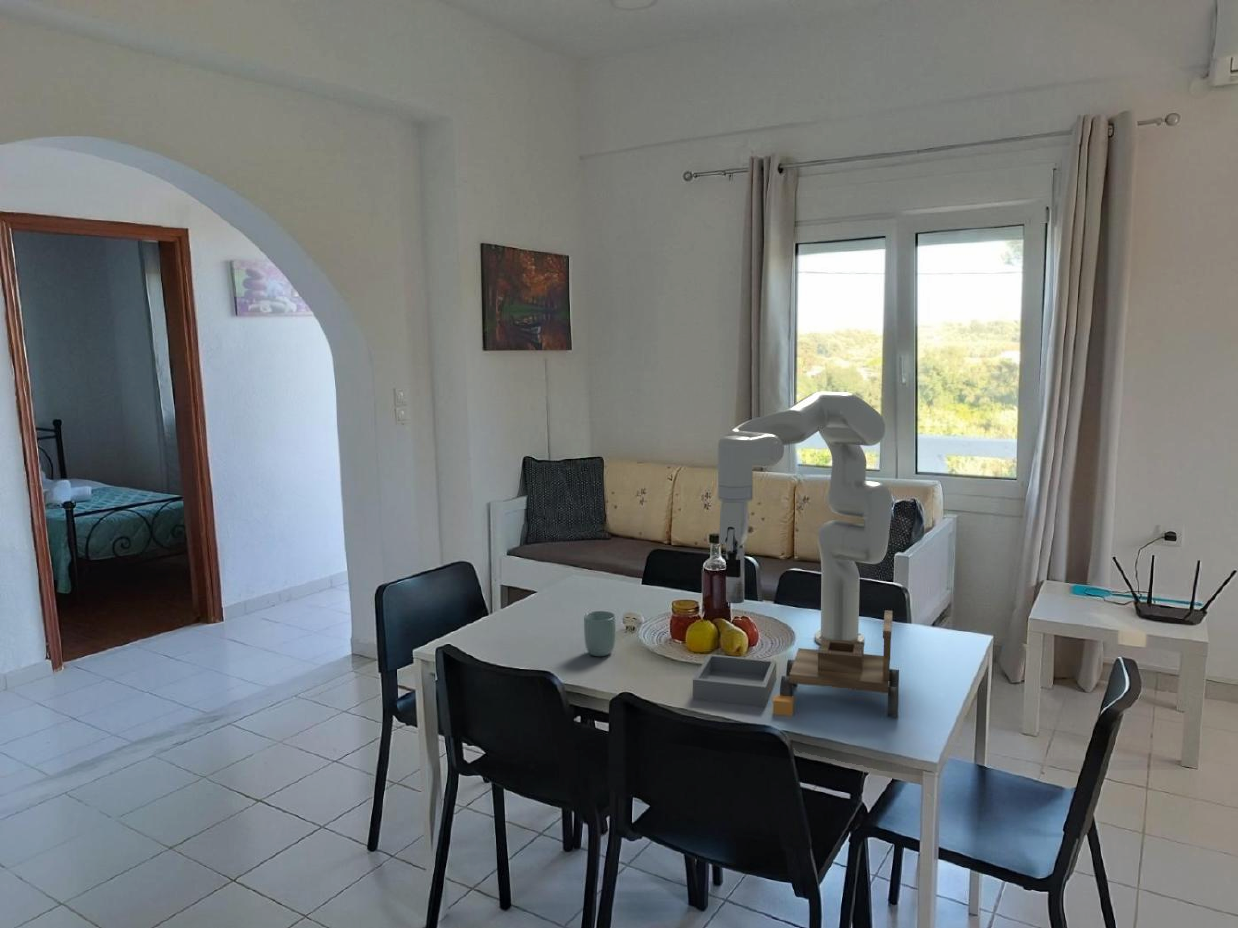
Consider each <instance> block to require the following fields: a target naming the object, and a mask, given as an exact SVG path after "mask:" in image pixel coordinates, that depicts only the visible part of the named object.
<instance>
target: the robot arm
mask: <svg viewBox="0 0 1238 928" xmlns="http://www.w3.org/2000/svg"><path fill="white" fill-rule="evenodd" d="M817 433H819V435H820V436H821V438H822V440H823V441H824V442H825V443H826V446H827V447H828V449H829V451H830V455H831V461H832V462H831V471H830V474H831V475H830V481H829V482H830V483H829V491H828V507H829V509H830V510H831V512H832V513H835V514H836V515H840V516H845V517H851V518H858V519H862V520H863V519H864V524H863V523H858V522H854V521H846V520H836V519H834V520H829V521H826V522H825V523H823V524H822V525H821V527H820V528H819V530H818V533H817V544H818V545H817V546H818V549H819V551H818V552H819V555H820V566H821V567H820V568H821V578H820V579H821V581H820V582H821V583H820V585H821V590H820V595H821V597H820V600H821V601H820V630H818V631H816V632H815V633H814V640H815V642H816V643H818V644H819V645H820V643H821V640H822V639H833V640H845V641H856V642H864V643H865V636H864V635H863V634H862V633H861V632H859V631H860V630H859V619H860V618H859V617H860V616H859V615H860V614H859V613H860V578H861V577H860V572H859V569H858V566H857V565H856V562H857V563H861V564H862V563H863V564H870V565H875V564H876V565H877V564H879V563H881V562H882V561H883V560H884V559H885V556H886V555H887V551H888V545H889V538H890V529H891V522H892V521H891V520H892V513H893V497H892V493H891V491H890V489H889V487H888V486H887V485H886V484H884V483H882V482H880V481H879V482H878V481H877V482H876V481H871V480H867V479H866V477H867V476H866V475H867V457H866V455H865V452H864V450H863V448H862V447H861V446H863V447H866V446H867V447H869V446H870V447H872V446H876V445H878V444H879V443H880V442H881V441H882V439H883V438H884V436H885V433H886V425H885V420H884V418H883V415H882V414H880V413H879V412H878V411H877V410H876V409H875V408H874V407H872V406H871V405H870V404H869V403H867V401H865V399H862V398H861V397H859V396H858V395H855V394H854V393H851V392H844V391H842V392H841V391H816V392H813V393H811V394H809V395H807V396H805V397H804V398H802V399H800V400H799V401H797V402H795V403H793V404H792V405H791V406H789V407H788V408H785V409H784V410H781V411H777V412H773V413H770V414H766V415H763V416H759V417H756V418H752V419H749V420H746V421H745V422H743V423H741V424H739V425H737V426H736V427H734V428H732V429H731V430H730V431H728V433H726V435H725V436H722V437H720V439H719V441H718V443H717V456H718V457H717V500H718V501H721V505H720V514H719V531H718V532H719V533H718V536H719V537H718V544H719V545H720V546H721V547H722V546H724V545H725V543H726V545H725V546H726V548H725V578H726V577H736V578H739V577H740V576H741V559H739V550H740V547H744V548H745V542H746V540H747V539H748V535H749V502H751V501H753V496H754V494H753V493H754V491H753V487H754V486H753V483H754V482H753V481H754V480H753V479H754V477H753V476H754V468H771V467H773V466H774V467H775V466H776V465H777V464H779V462H780V461H781V460H782V458H783V457H784V453H785V447H784V446H790V445H796V444H801V443H803V442H804V441H806V440H807V439H809V438H811V437H812V436H814V435H815V434H817ZM734 548H736V551H735V550H734Z"/></svg>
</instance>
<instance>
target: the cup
mask: <svg viewBox="0 0 1238 928" xmlns="http://www.w3.org/2000/svg"><path fill="white" fill-rule="evenodd" d="M616 627H617V624H616V615H615V613H613V612H612V611H605V610H596V611H591V612H590V611H589V612H588V613H586V614H585V615H584V617H583V633H584V643H585V648H586V650H587V652H588V653H589V654H590V655H591V656H595V657H606V656H608V655H610V654H611V653H612V652H613V651H614V649H615V644H616V638H617V637H616V636H617V634H616V633H617V632H616V630H617V629H616Z"/></svg>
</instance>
